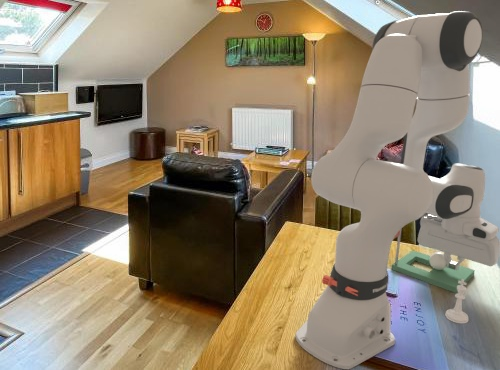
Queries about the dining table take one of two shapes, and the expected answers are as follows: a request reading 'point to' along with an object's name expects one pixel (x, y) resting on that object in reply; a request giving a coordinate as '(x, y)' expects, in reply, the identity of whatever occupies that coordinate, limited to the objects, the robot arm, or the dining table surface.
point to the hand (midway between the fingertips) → (452, 268)
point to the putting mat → (436, 277)
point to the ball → (438, 261)
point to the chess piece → (458, 306)
